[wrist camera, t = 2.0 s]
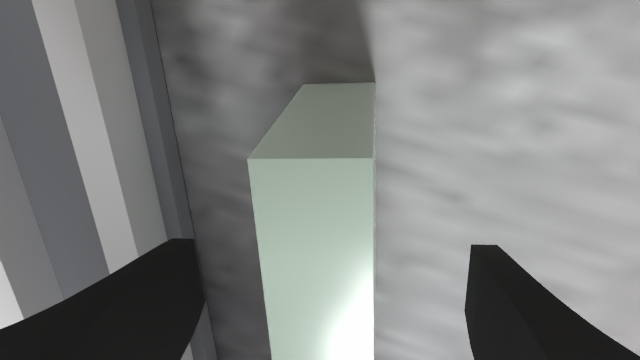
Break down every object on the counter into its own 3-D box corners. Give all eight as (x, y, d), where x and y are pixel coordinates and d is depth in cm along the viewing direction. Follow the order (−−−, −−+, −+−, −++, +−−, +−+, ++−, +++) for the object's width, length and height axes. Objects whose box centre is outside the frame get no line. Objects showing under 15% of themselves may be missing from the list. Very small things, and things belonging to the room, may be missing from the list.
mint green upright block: (375, 283, 18) (373, 450, 11) (316, 281, 18) (282, 442, 12) (375, 82, 15) (372, 157, 8) (303, 84, 15) (247, 158, 9)
